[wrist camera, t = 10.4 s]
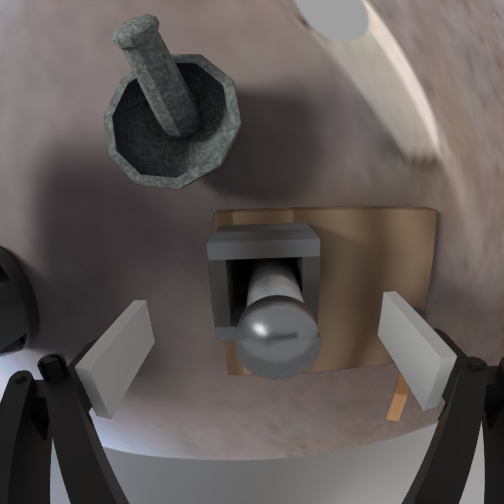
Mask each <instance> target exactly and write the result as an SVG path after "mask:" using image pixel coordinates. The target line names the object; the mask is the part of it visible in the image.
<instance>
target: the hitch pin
mask: <svg viewBox="0 0 504 504" xmlns="http://www.w3.org/2000/svg"><path fill="white" fill-rule="evenodd" d="M320 347H321V337H320V333H319V330H318V327H317V324H316V321H315V318H314V315H313V313H312V312H311V310H310V309H309V308H308V307H307V306H306V305H305V304H304V301H303V298H302V295H301V291H300V288H299V285H298V282H297V278H296V275H295V272H294V269H293V265H292V262H291V259H290V257H285V258H257V259H252V263H251V272H250V280H249V288H248V296H247V305H246V309H245V310H244V312H243V313H242V315H241V317H240V320H239V323H238V329H237V335H236V342H235V349H236V353H237V356H238V358H239V360H240V362H241V363H242V365H243V366H244V367H245V368H246V369H248V370H249V371H250V372H252V373H254V374H256V375H258V376H261V377H264V378H269V379H284V378H289V377H292V376H295V375H297V374H300V373H301V372H303V371H305V370H306V369H307V368H308V367H310V366H311V365H312V363H313V362H314V361H315V359H316V358H317V356H318V354H319V351H320Z"/></svg>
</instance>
